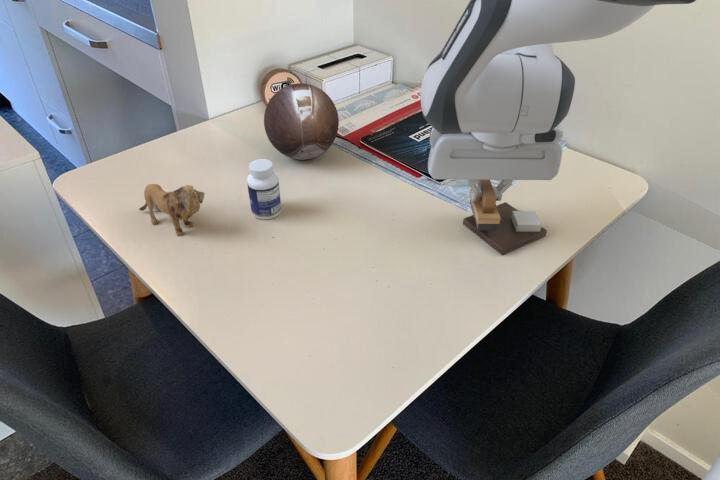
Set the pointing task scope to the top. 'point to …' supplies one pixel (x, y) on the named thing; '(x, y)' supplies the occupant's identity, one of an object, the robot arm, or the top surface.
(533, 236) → the board
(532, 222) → the chalk block
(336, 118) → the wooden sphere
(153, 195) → the lion figurine
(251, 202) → the pill bottle
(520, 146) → the robot arm
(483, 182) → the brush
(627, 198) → the top surface
